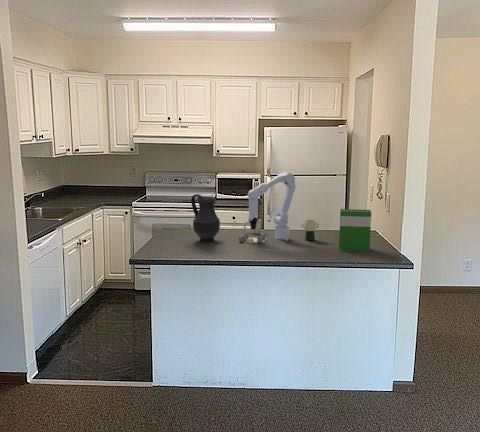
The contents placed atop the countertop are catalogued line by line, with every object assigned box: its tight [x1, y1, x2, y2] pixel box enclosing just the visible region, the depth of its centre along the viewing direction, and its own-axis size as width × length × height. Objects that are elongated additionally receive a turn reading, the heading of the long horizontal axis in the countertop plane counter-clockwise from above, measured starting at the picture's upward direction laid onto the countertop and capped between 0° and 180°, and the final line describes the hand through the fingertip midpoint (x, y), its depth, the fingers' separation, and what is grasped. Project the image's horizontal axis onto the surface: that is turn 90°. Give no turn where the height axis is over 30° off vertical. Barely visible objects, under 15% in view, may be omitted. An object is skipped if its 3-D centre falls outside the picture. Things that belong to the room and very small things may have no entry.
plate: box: [243, 237, 267, 244], centre depth 321 cm, size 15×16×1 cm
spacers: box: [238, 232, 266, 245], centre depth 321 cm, size 15×14×4 cm
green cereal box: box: [338, 208, 372, 252], centre depth 300 cm, size 18×7×24 cm, turn 80°
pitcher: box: [190, 193, 221, 243], centre depth 322 cm, size 17×21×30 cm
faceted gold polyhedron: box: [245, 237, 254, 245], centre depth 315 cm, size 4×5×2 cm
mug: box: [243, 218, 262, 235], centre depth 345 cm, size 8×13×10 cm, turn 81°
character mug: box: [301, 219, 320, 241], centre depth 326 cm, size 11×7×13 cm, turn 83°
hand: (253, 229), depth 321 cm, fingers closed
